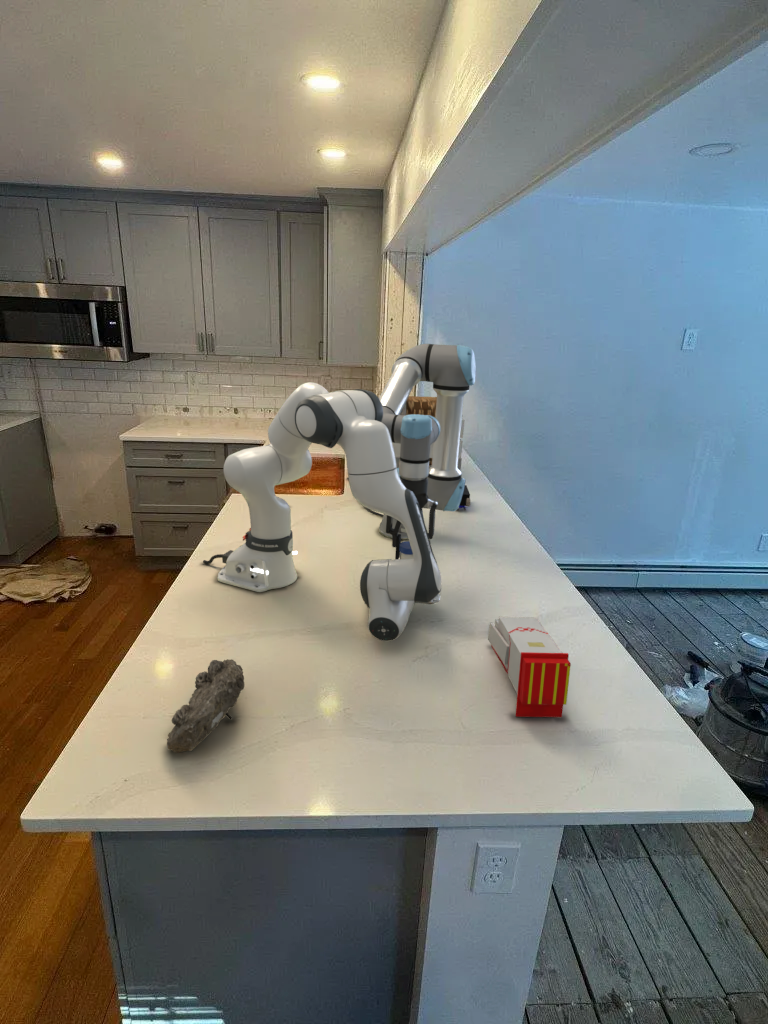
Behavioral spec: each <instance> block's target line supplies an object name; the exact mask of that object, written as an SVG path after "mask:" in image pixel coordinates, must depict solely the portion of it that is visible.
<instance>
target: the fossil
mask: <svg viewBox="0 0 768 1024" xmlns="http://www.w3.org/2000/svg"><path fill="white" fill-rule="evenodd" d="M243 670H244V669H243V667H242V665H240V664H237V662H236V661H235V660H234V659H232V658H231V659H227V658H226V659H224V660H223V661H222V660H217V659H212V660H211V661H210V663H209V665H208V666H207V671H201V672H199V673H198V674H197V675H196V676H195V680H194V684H195V685H194V687H195V689H194V690H193V693H192V694H191V697H190V698H189V700H188V704H184V705H182V706H181V707H180V709H177V710H176V711H175V713H174V715H173V716H172V718H171V723H172V724H173V727H172V730H171V731H170V732H168V734H167V738H166V741H167V742H166V745H167V749H168V750H169V751H173V752H174V753H176V754H178V753H182V752H188V751H189V752H192V751H193V750H195V748H196V747H197V746H199V744H200V743H201V742H203V741H204V740H205V739H206V738H207V737H208V736H209V735H210V734H211V733H212V732H214V730H215V729H217V727H218V726H219V724H220V722H221V721H222V720H223V719H224V718H225V716H226V717H227V719H229V720H233V717H232V715H230V714H229V710H230V709H231V708H234V706H235V704H236V703H237V702H238V699H239V697H240V695H241V693H242V691H243V690H245V689H244V688H245V675H244V671H243Z"/></svg>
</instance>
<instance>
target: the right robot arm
mask: <svg viewBox="0 0 768 1024" xmlns="http://www.w3.org/2000/svg"><path fill="white" fill-rule="evenodd" d="M476 369H477V368H476V356H475V351H474V350H473V348H472V347H470V346H466V345H465V346H464V345H459V344H438V343H437V344H436V343H435V344H434V343H421V344H418V345H415V346H412V347H411V348H409V349H407V350H406V351H404V352H402V354H400V355H399V356H398V357H397V358H396V359H395V361H394V362H393V364H392V367H391V375H390V376H389V379H388V381H387V383H386V384H385V386H384V388H383V390H382V391H381V393H380V395H379V396H378V398H379V399H380V401H381V404H382V407H383V418H382V421H381V422H382V423H383V424H384V425H386V427H387V428H388V430H389V433H390V436H391V440H392V443H400V444H401V445H400V462H399V468H397V471H398V475H399V478H400V480H401V482H402V483H403V485H404V486H405V487H406V489H409V490H411V491H412V492H413V493H414V495H415V497H416V499H417V501H418V504H419V507H420V510H421V513H422V516H423V520H424V523H425V524H426V522H425V518H424V511H423V509H428V510H429V511H428V512H429V514H428V530H427V533H428V537H429V540H432V539H433V538H434V536H435V528H436V527H435V525H436V511H442V512H453V513H454V512H456V511H458V510H457V509H459V505H460V502H461V499H462V495H463V491H464V487H465V485H466V479H465V478H464V477H462V470H461V471H460V470H459V469H458V467H457V466H458V455H459V444H460V439H461V438H460V432H461V421H462V419H463V408H464V398H465V395H466V394H467V393H468V392H470V387H471V386H474V385H475V383H476V375H477V374H476V372H477V371H476ZM420 382H427V383H428V382H429V383H432V390H434V392H435V393H436V397H437V402H436V415H435V418H434V417H433V416H430V415H419V414H411V415H406V416H404V415H400V413H401V411H402V409H403V407H404V405H405V403H406V401H407V399H408V397H409V396H410V394H411V392H412V390H413V389H414V387H415V386H416V385H418V384H419V383H420ZM432 443H433V455H432V465H430V466H429V456H430V446H431V444H432ZM346 479H347V480H348V481H349V478H348V477H346ZM364 509H366V510H367V511H368V512H370V513H372V514H374V515H377V516H380V517H382V519H381V522H379V527H378V533H379V534H380V535H381V536H382V537H385V538H387V539H389V540H392V541H391V547H392V548H395V556H394V559H400V551H399V544H400V543H401V542H402V541H409V539H408V535H407V532H406V529H405V527H404V526H403V524H402V523H401V522H400V521H398V520H397V519H395V518H393V517H391V516H388V515H386V514H383V513H379V512H376V511H373V510H370V509H368V508H366V507H364Z"/></svg>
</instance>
